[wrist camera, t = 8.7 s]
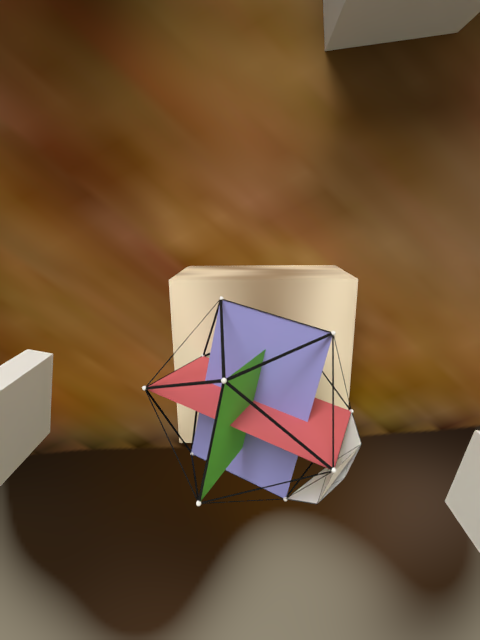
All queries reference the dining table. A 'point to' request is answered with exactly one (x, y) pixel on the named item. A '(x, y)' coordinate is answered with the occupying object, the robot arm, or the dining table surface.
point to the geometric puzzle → (263, 405)
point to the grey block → (392, 20)
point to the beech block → (269, 296)
